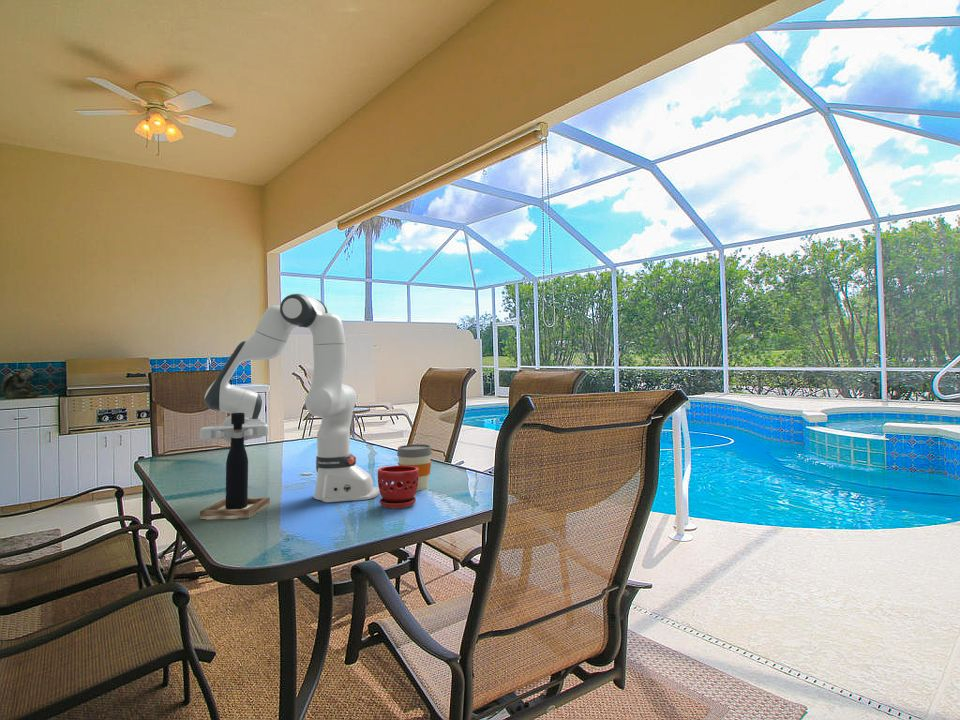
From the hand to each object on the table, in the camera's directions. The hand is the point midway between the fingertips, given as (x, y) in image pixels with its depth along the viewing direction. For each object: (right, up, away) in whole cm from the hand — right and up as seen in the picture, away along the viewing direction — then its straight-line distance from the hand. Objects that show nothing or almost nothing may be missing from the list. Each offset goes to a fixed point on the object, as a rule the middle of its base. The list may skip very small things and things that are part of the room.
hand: (234, 434), depth 165 cm
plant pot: (+51, -24, +4) cm, 57 cm away
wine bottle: (0, -24, +2) cm, 24 cm away
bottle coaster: (0, -25, +1) cm, 25 cm away
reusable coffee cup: (+54, -24, +27) cm, 65 cm away
